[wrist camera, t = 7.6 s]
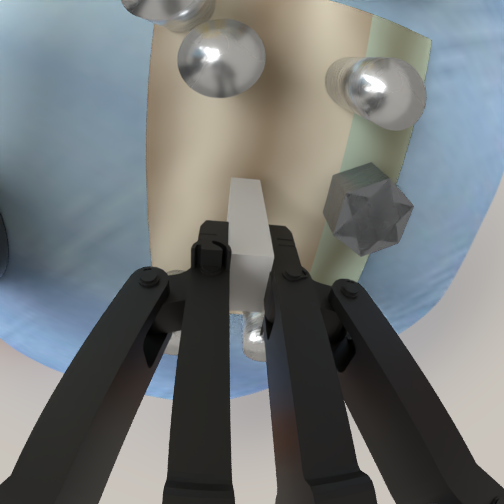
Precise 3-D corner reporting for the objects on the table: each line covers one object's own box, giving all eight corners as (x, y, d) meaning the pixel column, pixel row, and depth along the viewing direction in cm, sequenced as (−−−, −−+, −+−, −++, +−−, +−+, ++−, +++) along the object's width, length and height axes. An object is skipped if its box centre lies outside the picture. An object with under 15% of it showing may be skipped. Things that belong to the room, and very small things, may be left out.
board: (159, 296, 23) (156, 306, 22) (166, -11, 10) (160, -16, 9) (337, 308, 24) (340, 318, 24) (421, 40, 12) (431, 40, 11)
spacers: (155, 302, 22) (142, 355, 18) (160, -16, 9) (127, -44, 5) (342, 314, 23) (357, 364, 19) (431, 40, 11) (488, 44, 7)
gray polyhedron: (331, 240, 19) (341, 264, 17) (312, 182, 16) (322, 201, 14) (399, 215, 18) (416, 236, 16) (389, 156, 15) (409, 171, 13)
